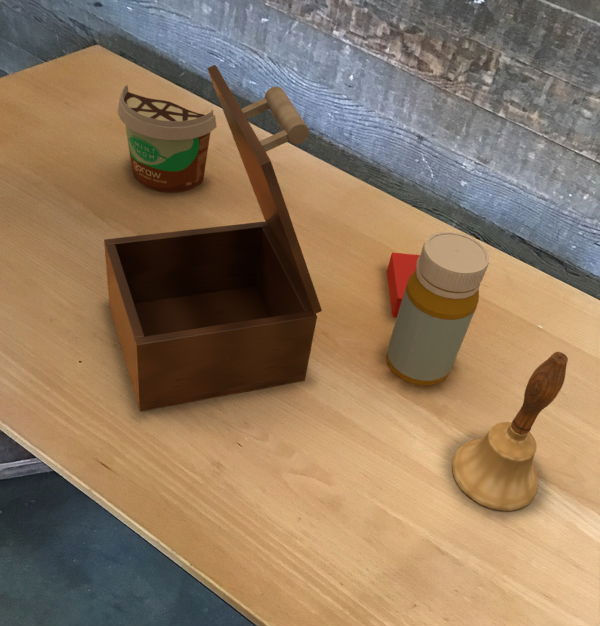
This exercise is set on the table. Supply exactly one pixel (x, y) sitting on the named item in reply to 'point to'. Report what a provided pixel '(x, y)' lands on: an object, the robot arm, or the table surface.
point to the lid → (269, 168)
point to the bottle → (437, 308)
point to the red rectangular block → (399, 277)
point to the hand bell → (510, 447)
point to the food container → (165, 142)
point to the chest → (207, 313)
